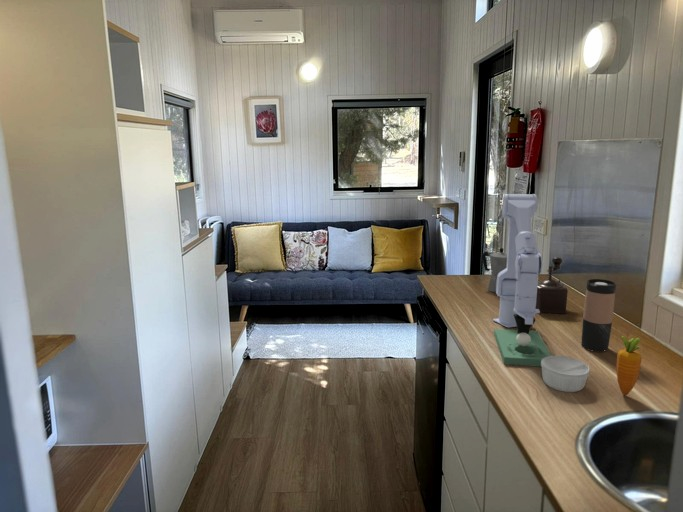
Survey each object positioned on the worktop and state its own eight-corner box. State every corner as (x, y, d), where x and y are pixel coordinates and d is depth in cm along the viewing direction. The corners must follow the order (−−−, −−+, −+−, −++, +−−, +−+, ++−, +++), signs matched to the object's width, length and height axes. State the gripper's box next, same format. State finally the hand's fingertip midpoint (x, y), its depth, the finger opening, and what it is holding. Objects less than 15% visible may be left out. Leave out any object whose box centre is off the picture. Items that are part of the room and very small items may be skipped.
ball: (525, 327, 143) (528, 334, 140) (531, 339, 144) (534, 345, 140) (512, 333, 145) (514, 339, 141) (519, 344, 145) (521, 351, 141)
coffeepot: (519, 291, 204) (522, 248, 200) (508, 295, 198) (511, 252, 194) (485, 284, 215) (488, 243, 211) (474, 288, 208) (476, 246, 205)
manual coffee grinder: (568, 314, 175) (573, 265, 171) (535, 313, 177) (539, 264, 173) (558, 301, 190) (562, 256, 186) (528, 300, 192) (531, 255, 188)
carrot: (608, 391, 120) (615, 333, 117) (627, 390, 120) (634, 332, 117) (621, 401, 115) (628, 341, 112) (641, 400, 116) (649, 340, 112)
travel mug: (606, 343, 149) (613, 280, 144) (611, 353, 142) (619, 286, 137) (578, 340, 151) (585, 278, 147) (581, 350, 144) (588, 284, 140)
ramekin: (585, 399, 117) (587, 378, 115) (535, 387, 122) (537, 367, 121) (590, 380, 126) (592, 361, 125) (543, 370, 132) (545, 352, 131)
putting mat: (494, 334, 157) (494, 328, 156) (537, 337, 154) (537, 331, 154) (503, 363, 136) (504, 357, 135) (553, 367, 133) (554, 360, 133)
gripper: (546, 303, 133) (542, 350, 136) (535, 288, 147) (532, 331, 150) (519, 302, 135) (515, 348, 137) (510, 287, 148) (507, 329, 151)
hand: (522, 339), depth 144 cm, fingers closed, pressing on ball
